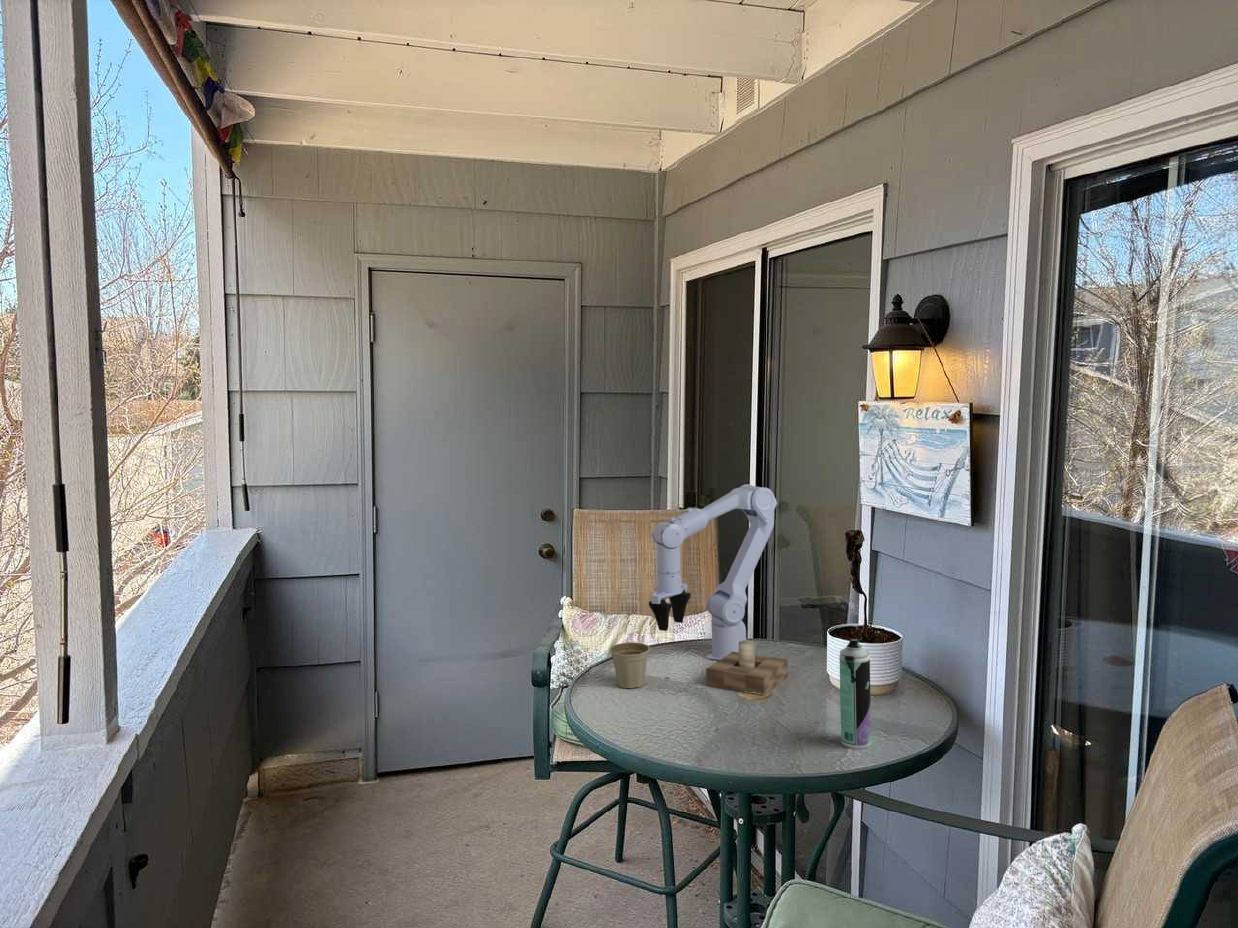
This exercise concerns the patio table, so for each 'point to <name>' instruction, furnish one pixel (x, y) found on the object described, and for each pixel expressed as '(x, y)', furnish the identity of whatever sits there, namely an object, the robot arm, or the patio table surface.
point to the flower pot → (630, 663)
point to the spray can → (855, 696)
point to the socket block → (747, 674)
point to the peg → (747, 654)
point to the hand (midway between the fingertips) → (671, 626)
